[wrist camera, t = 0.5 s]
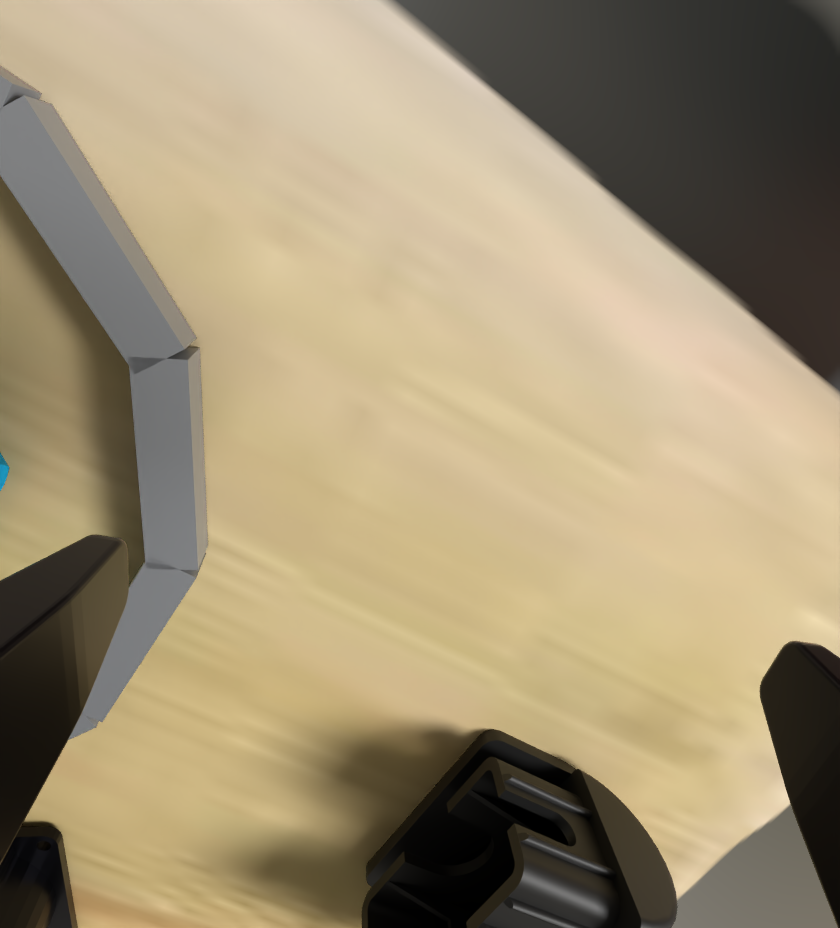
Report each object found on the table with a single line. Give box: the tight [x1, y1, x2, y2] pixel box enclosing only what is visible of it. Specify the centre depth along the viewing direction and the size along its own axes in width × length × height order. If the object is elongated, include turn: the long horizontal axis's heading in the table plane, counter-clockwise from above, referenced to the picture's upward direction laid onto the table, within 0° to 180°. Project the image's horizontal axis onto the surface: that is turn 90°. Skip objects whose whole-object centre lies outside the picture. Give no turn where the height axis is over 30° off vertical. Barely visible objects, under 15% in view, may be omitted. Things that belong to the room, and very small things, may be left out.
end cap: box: [362, 729, 677, 928], centre depth 24 cm, size 10×7×7 cm
